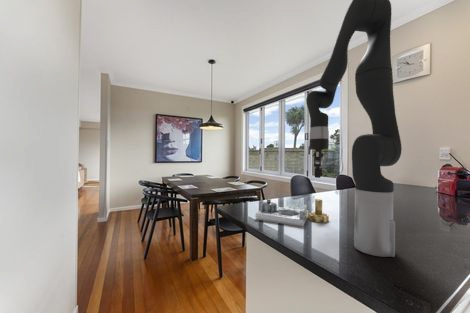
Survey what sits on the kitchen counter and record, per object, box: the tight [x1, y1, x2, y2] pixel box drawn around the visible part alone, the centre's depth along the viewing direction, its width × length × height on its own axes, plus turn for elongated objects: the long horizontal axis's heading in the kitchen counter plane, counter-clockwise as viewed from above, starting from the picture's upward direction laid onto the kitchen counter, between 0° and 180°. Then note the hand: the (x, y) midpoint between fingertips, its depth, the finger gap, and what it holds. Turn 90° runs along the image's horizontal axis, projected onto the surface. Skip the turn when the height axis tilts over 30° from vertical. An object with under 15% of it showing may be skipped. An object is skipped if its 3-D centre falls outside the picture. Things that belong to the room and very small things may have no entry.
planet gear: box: [307, 198, 330, 223], centre depth 88 cm, size 8×8×8 cm
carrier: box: [255, 198, 309, 228], centre depth 90 cm, size 19×16×7 cm
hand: (318, 176), depth 88 cm, fingers open, 8 cm apart
